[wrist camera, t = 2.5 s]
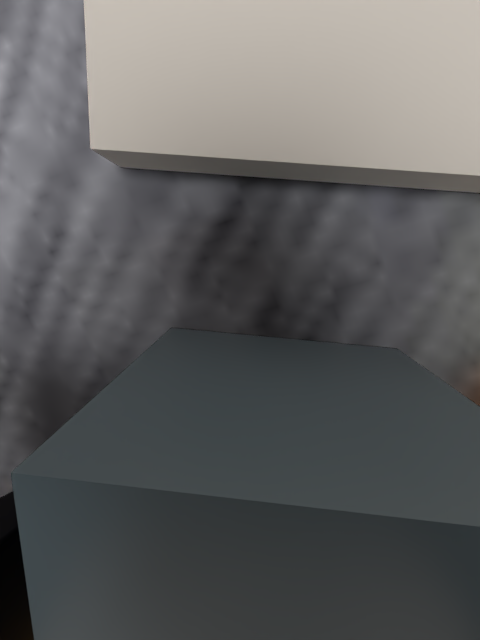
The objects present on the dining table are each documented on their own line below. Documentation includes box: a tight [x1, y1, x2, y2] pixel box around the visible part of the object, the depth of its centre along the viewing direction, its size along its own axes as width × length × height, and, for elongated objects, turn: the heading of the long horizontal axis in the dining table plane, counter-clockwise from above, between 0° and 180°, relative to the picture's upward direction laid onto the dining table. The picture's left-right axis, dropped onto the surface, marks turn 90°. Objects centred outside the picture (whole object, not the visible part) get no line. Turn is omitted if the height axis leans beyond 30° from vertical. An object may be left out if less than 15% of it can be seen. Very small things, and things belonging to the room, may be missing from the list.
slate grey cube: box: [11, 328, 480, 640], centre depth 7 cm, size 7×7×6 cm
